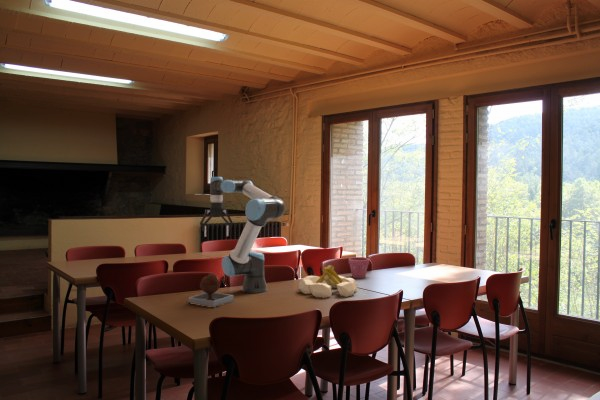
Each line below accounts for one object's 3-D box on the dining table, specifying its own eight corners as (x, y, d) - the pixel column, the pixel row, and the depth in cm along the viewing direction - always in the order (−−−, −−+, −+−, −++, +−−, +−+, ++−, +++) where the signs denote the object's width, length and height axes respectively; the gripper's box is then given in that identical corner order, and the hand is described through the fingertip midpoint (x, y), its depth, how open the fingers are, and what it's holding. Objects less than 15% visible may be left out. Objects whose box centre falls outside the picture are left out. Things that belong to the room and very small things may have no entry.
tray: (233, 301, 269) (233, 295, 269) (213, 308, 254) (213, 301, 254) (209, 297, 278) (209, 291, 277) (188, 304, 263) (188, 297, 263)
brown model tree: (221, 298, 272) (221, 271, 271) (218, 303, 260) (218, 275, 260) (201, 298, 271) (201, 271, 271) (198, 303, 260) (198, 275, 260)
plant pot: (358, 274, 355) (358, 256, 354) (373, 277, 344) (373, 258, 344) (344, 276, 346) (344, 258, 345) (359, 279, 335) (359, 260, 334)
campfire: (308, 300, 275) (309, 269, 274) (292, 287, 308) (292, 260, 307) (366, 296, 285) (367, 267, 284) (345, 285, 317) (345, 258, 317)
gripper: (196, 202, 298) (196, 237, 298) (237, 202, 304) (237, 236, 305) (195, 201, 305) (195, 236, 305) (235, 201, 312) (235, 235, 312)
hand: (216, 236), depth 305 cm, fingers open, 13 cm apart
